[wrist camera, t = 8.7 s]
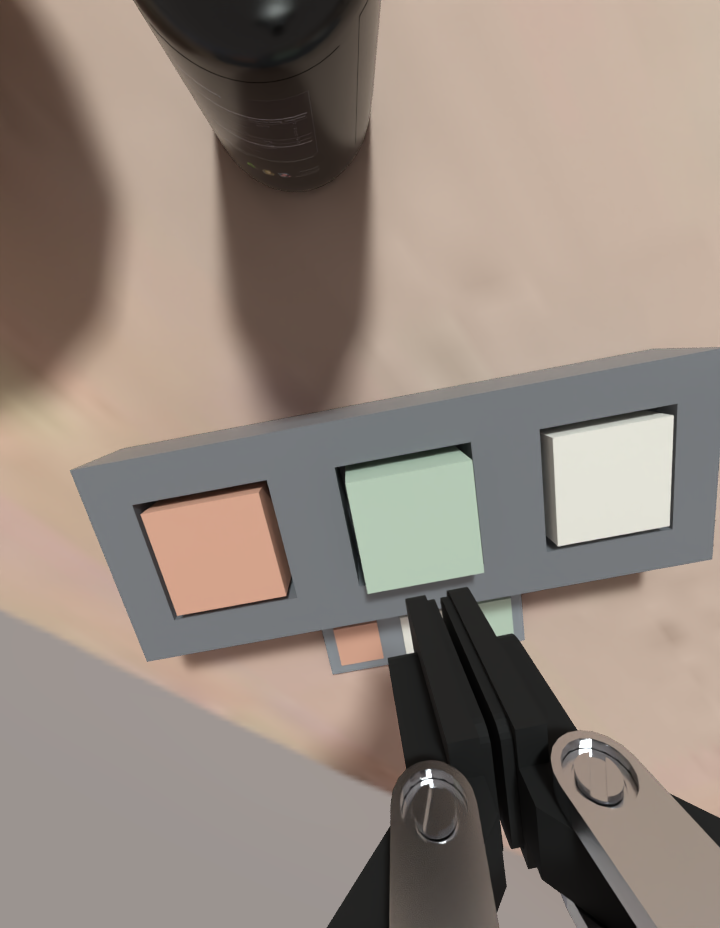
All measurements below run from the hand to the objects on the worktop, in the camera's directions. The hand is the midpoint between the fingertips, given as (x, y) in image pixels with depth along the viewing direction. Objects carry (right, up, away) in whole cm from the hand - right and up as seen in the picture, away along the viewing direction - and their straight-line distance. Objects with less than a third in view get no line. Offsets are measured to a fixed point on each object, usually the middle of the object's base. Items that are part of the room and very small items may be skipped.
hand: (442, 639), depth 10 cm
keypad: (0, +3, +11) cm, 12 cm away
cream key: (+9, +5, +10) cm, 14 cm away
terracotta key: (-9, +1, +10) cm, 13 cm away
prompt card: (+2, -5, +14) cm, 15 cm away
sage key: (0, +3, +9) cm, 9 cm away
